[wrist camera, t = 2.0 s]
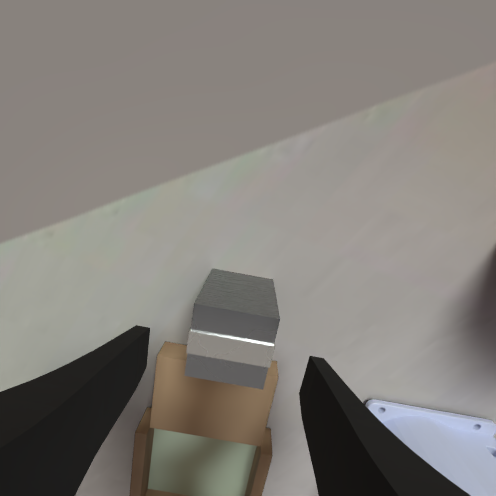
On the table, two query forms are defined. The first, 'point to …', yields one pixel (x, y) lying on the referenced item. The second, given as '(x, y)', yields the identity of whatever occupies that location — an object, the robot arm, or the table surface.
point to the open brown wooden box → (202, 434)
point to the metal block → (233, 330)
